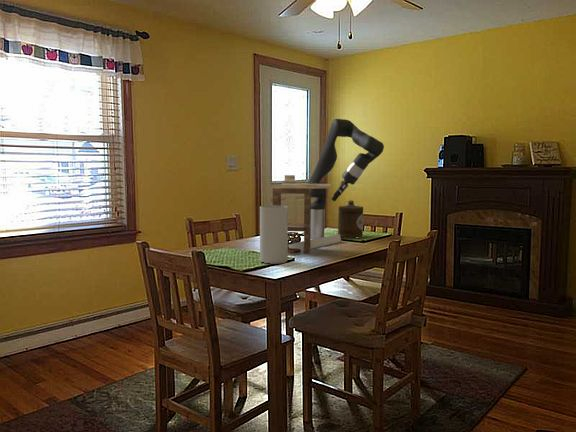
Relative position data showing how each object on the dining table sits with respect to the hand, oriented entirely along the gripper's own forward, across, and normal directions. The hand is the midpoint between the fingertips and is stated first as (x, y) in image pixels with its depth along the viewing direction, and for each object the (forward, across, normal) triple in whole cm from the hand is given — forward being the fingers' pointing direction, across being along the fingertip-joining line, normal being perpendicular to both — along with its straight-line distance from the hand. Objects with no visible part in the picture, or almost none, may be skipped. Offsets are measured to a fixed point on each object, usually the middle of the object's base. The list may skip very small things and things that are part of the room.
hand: (334, 198), depth 260 cm
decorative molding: (+30, -11, +8) cm, 33 cm away
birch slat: (+3, +7, -14) cm, 16 cm away
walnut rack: (+33, +9, -2) cm, 34 cm away
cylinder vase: (+31, +38, -6) cm, 50 cm away
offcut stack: (+9, 0, -22) cm, 24 cm away
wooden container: (+25, -43, +24) cm, 55 cm away
